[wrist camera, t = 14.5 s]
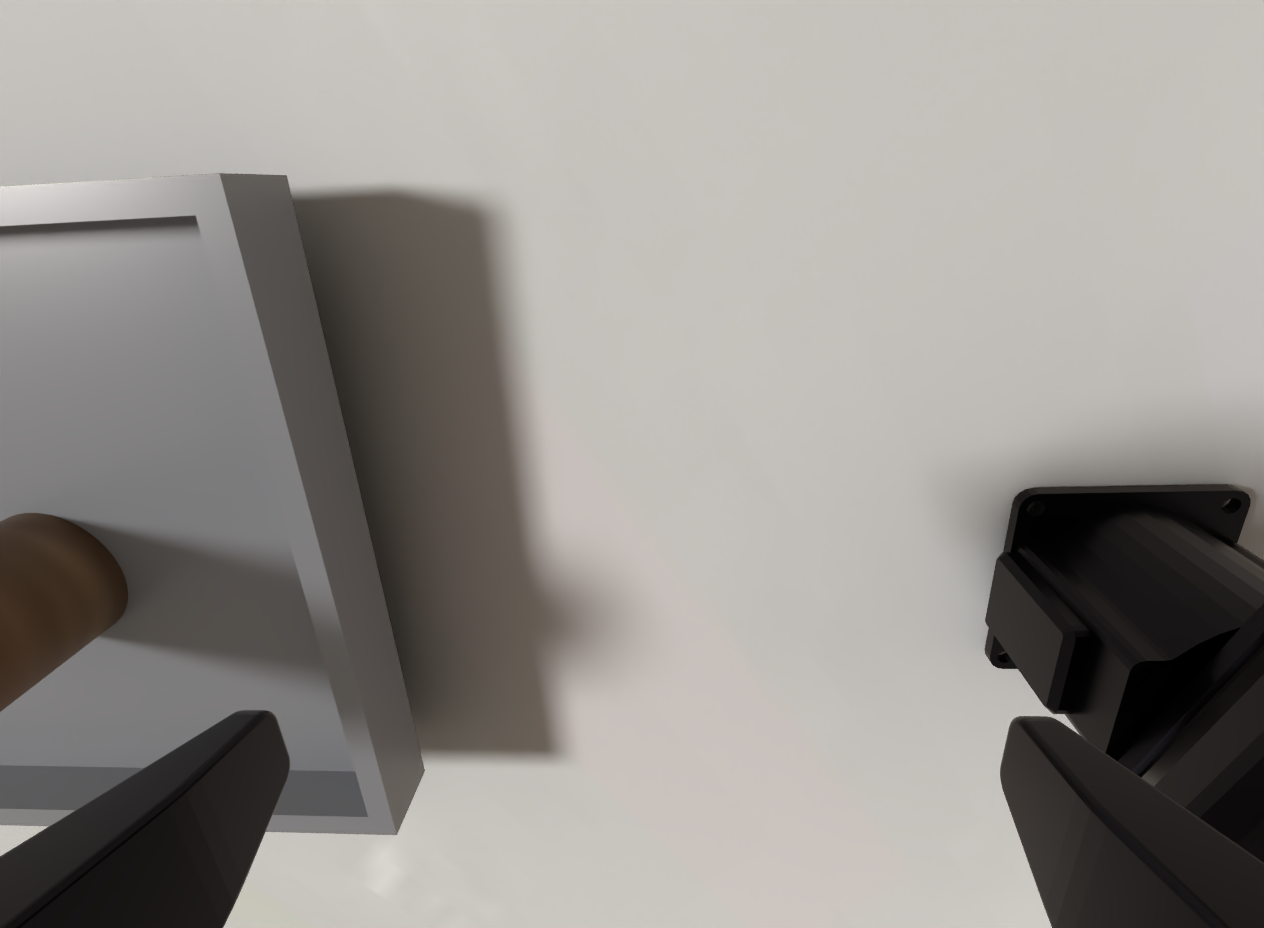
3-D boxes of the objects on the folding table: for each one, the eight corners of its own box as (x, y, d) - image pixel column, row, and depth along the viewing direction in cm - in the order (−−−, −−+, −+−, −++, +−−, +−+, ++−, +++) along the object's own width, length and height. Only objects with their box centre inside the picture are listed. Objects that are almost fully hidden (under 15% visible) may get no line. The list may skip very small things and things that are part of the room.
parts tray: (322, 176, 18) (219, 173, 14) (440, 733, 26) (396, 835, 22) (-318, 214, 20) (-576, 221, 16) (-27, 727, 27) (-149, 821, 23)
